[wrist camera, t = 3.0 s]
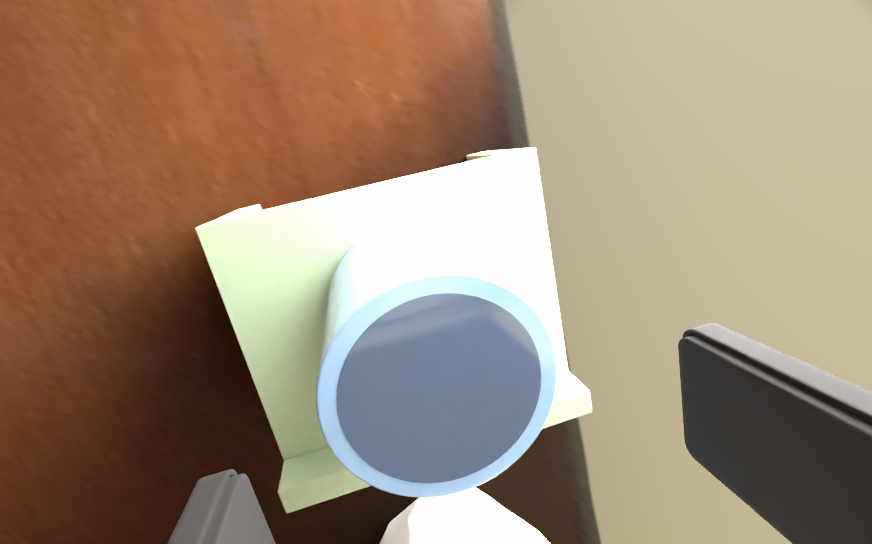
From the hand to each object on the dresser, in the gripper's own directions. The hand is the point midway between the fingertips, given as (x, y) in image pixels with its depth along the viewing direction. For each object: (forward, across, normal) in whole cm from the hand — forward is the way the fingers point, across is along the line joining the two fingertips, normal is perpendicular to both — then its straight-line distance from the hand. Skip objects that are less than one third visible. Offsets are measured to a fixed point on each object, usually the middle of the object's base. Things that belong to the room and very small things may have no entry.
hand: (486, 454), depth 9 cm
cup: (+10, 0, 0) cm, 10 cm away
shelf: (+17, +1, +1) cm, 17 cm away
